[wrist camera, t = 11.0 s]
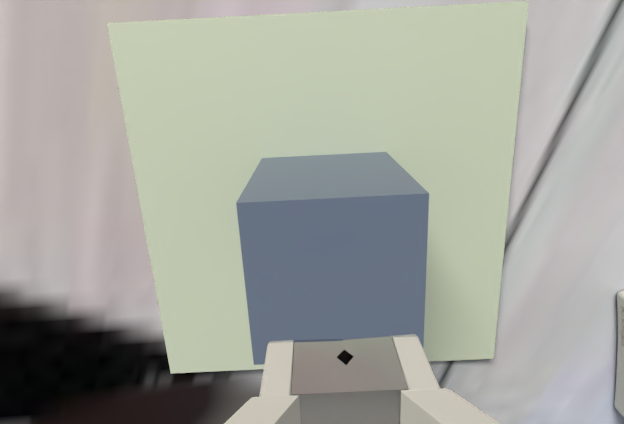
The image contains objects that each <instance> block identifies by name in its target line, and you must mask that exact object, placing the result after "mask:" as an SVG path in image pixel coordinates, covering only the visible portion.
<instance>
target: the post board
mask: <svg viewBox="0 0 624 424" xmlns="http://www.w3.org/2000/svg"><path fill="white" fill-rule="evenodd" d="M528 3H529V1H516V2H497V3H478V4H459V5H440V6H421V7H403V8H384V9H365V10H346V11H327V12H308V13H289V14H270V15H251V16H232V17H213V18H195V19H176V20H157V21H138V22H119V23H107V26H108V32H109V37H110V43H111V48H112V54H113V59H114V65H115V70H116V76H117V81H118V87H119V92H120V98H121V103H122V108H123V114H124V119H125V125H126V130H127V136H128V141H129V147H130V152H131V158H132V163H133V169H134V174H135V180H136V185H137V191H138V196H139V202H140V207H141V213H142V218H143V224H144V229H145V235H146V240H147V246H148V251H149V257H150V262H151V268H152V273H153V279H154V284H155V290H156V295H157V300H158V306H159V311H160V317H161V322H162V328H163V333H164V339H165V344H166V350H167V355H168V361H169V366H170V372H171V373H191V372H213V371H235V370H257V369H264V364H261V365H254V362H253V353H252V344H251V335H250V326H249V316H248V307H247V298H246V289H245V280H244V271H243V261H242V252H241V243H240V234H239V225H238V216H237V206H236V202H237V201H238V199H239V197H240V195H241V194H242V192H243V190H244V188H245V187H246V185H247V183H248V182H249V180H250V178H251V176H252V175H253V173H254V171H255V169H256V168H257V166H258V164H259V163H260V161H261V159H262V158H272V157H292V156H312V155H332V154H352V153H372V152H387V153H388V154H389V155H390V156H391V157H392V158H393V159H394V160H395V161H396V162H397V163H398V164H399V165H400V166H401V167H402V168H403V169H404V170H405V171H407V172H408V173H409V174H410V175H411V176H412V177H413V178H414V179H415V180H416V181H417V182H418V183H419V184H420V185H421V186H422V187H423V188H424V189H425V190H426V191H427V192H428V193H429V212H428V238H427V265H426V292H425V318H424V345H423V349H424V352H425V354H426V356H427V359H428V361H429V362H431V361H453V360H475V359H493V358H494V348H495V338H496V328H497V317H498V307H499V297H500V287H501V277H502V267H503V256H504V246H505V236H506V226H507V216H508V206H509V196H510V185H511V175H512V165H513V155H514V145H515V135H516V124H517V114H518V104H519V94H520V84H521V74H522V64H523V53H524V43H525V33H526V23H527V13H528Z"/></svg>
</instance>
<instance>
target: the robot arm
mask: <svg viewBox="0 0 624 424" xmlns="http://www.w3.org/2000/svg"><path fill="white" fill-rule="evenodd" d="M225 424H500V423H499V422H497V421H496V420H494V419H493V418H491V417H490V416H488V415H487V414H485V413H484V412H482V411H481V410H479V409H478V408H476V407H475V406H474V405H472V404H471V403H469V402H468V401H466V400H465V399H463V398H462V397H460V396H459V395H457V394H456V393H454V392H453V391H451V390H450V389H448V388H446V389H440V386H439V384H438V382H437V379H436V377H435V375H434V372H433V370H432V368H431V366H430V363H429V361H428V359H427V356H426V354H425V352H424V349H423V347H422V345H421V342H420V340H419V338H418V336H417V335H415V334H408V335H395V336H389V337H373V338H357V339H313V340H294V341H293V340H281V341H270V342H269V343H268V345H267V351H266V358H265V364H264V370H263V377H262V383H261V390H260V396H259V397H252V398H251V399H250V400H249V401H248V402H246V403H245V405H243V406H242V407H241V408H240V409H239V410H238V411H237V412H236V413H235V414H234V415H233V416H232V417H231V418H230V419H229V420H228V421H227V422H225Z"/></svg>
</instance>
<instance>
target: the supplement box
mask: <svg viewBox="0 0 624 424" xmlns="http://www.w3.org/2000/svg"><path fill="white" fill-rule="evenodd" d="M617 310H618V351H617V371H616V374H617V377H616V390H615V402H614V406H615V408H616V409H617V410H618V412H619V413H620V414H621V415H622V416H623V417H624V290H623V291H619V292H618V293H617Z"/></svg>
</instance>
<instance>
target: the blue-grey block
mask: <svg viewBox="0 0 624 424" xmlns="http://www.w3.org/2000/svg"><path fill="white" fill-rule="evenodd" d="M236 206H237V216H238V225H239V234H240V243H241V252H242V261H243V271H244V280H245V289H246V298H247V307H248V316H249V326H250V335H251V344H252V353H253V362H254V365H261V364H265V358H266V351H267V345H268V343H269V342H270V341H281V340H293V341H294V340H313V339H357V338H373V337H389V336H395V335H408V334H415V335H417V336H418V338H419V340H420V342H421V345H422V347H423V345H424V318H425V292H426V265H427V238H428V212H429V193H428V192H427V191H426V190H425V189H424V188H423V187H422V186H421V185H420V184H419V183H418V182H417V181H416V180H415V179H414V178H413V177H412V176H411V175H410V174H409V173H408V172H407V171H405V170H404V169H403V168H402V167H401V166H400V165H399V164H398V163H397V162H396V161H395V160H394V159H393V158H392V157H391V156H390V155H389V154H388V153H387V152H372V153H352V154H332V155H312V156H292V157H272V158H262V159H261V161H260V163H259V164H258V166H257V168H256V169H255V171H254V173H253V175H252V176H251V178H250V180H249V182H248V183H247V185H246V187H245V188H244V190H243V192H242V194H241V195H240V197H239V199H238V201H237V202H236Z"/></svg>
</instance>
